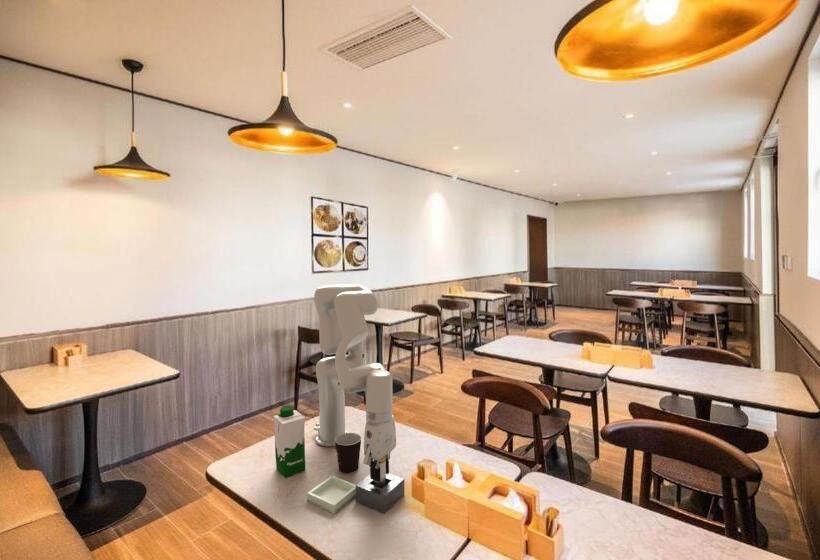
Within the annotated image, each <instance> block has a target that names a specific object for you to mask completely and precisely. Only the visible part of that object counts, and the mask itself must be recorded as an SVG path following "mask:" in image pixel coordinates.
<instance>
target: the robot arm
mask: <svg viewBox="0 0 820 560" xmlns="http://www.w3.org/2000/svg"><path fill="white" fill-rule="evenodd" d="M313 299H314V300H313V301H314V306H315V309H316V312H317V315H318V321H319V323H318V324H319V325H318V329H319V332H318V334H319V349H320V351H321V353H323V354H324V355H335V356H329V357H328V356H327V357H325V358H322V359H320V360H318V361H317V363H316V365H315V374H316V380H317V386H318V409H319V411H318V412H319V417H318V418H319V422H316V423H315V426H314V427H313V430H314V431H316V432H317V435H316V436H315V442H316V443H317V445H319V446H322V447H329V448H330V447H336V446H335V438H336V437H337V436H339V435H341V434H344V433H349V432H348V430H346V404H345V402H346V400H345V397H346V396H345V393H346V394H347V393H348V394H352V393H359V392H363V391H365V427H364V434H363V435H364V437H363V454H364V455H363V456H364V458H363V462H362V463H363V465H365V466H368V467H369V471H370V472H369V475H370V478H371V479H373V480H375V481H378V482H379V481H380V467H379V460H380V459H382V458H383V457H384V456H386V474H389V473H390V459H391V453H392V451H393V450H394V449H395V448H396V447H397V431H396V423H395V418H394V415H393V411H394V410H393V374H392V373H391V372H390V371H388V370H386V368H385V367H384V365H383V364H382V363H380V362H373V363H372V362H371V363H367V364H366V363H365V364H363V341H364V340H365V339H366V338H367V337H368V335H369V334H370V330H369V327H368V325H367V320H366V318H365V316H371V315H375V314H376V312H377V311H378V307H379V306H378V300H377V297H376V295H375V294H374V292H373V291H372V290H371V289H369V288H368V287H366V286H364V285H362V284H359V283H353V284H352V283H350V284H347V283H346V284H330V285H329V284H328V285H323V286H320V287H318V288H316V289H315V291H314V295H313ZM347 353H348V354H347ZM374 460H375V462H374Z"/></svg>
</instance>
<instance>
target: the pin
mask: <svg viewBox="0 0 820 560" xmlns="http://www.w3.org/2000/svg"><path fill="white" fill-rule="evenodd" d="M373 461H374V462H375V460H374V459H373ZM379 467H380V481H379V482H378V481H375V480H374V486H376V487H379V488H384V487H385V486H386V456H384V457H383V458H382V459H380V460H379Z"/></svg>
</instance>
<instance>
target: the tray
mask: <svg viewBox="0 0 820 560" xmlns="http://www.w3.org/2000/svg"><path fill="white" fill-rule="evenodd" d="M356 485H357V484H355V483H353V482H351V481H350V482H349V481H347V480H345V479H342V478H339V477H337V476H335V475H331V476H329V477H327V478H326V479H325V480H323V481H322V482H321V483H319V484H317V485H316V486H314V488H312V489H310V490H309V491H308V492H306V502H307V503H308V504H309V503H310V504H312V505H314V506H315V507H316V506H317V507H318V508H321V509H322V510H325V511H327V512H329V513H331V514H334V515H335V514H336V513H337V512H339V511H340V510H341V509H342V508H343V507H344V506H346V505H348V503H350V502H351V501H352V500H353V499H354V498H356Z"/></svg>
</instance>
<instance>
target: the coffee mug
mask: <svg viewBox="0 0 820 560" xmlns="http://www.w3.org/2000/svg"><path fill="white" fill-rule="evenodd" d="M361 445H362V436H361V435H360V434H358V433H355V432H348V433H344V434H341V435H339V436H337V437H336V438H335V446H334V447H335V451H336V458H337V465H338V466H337V467H338V471H339V472H340V473H342V474H346V475H348V474H354V473H355V472H357V471H358V470H359V463H360V455H361V454H360V453H361Z"/></svg>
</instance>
